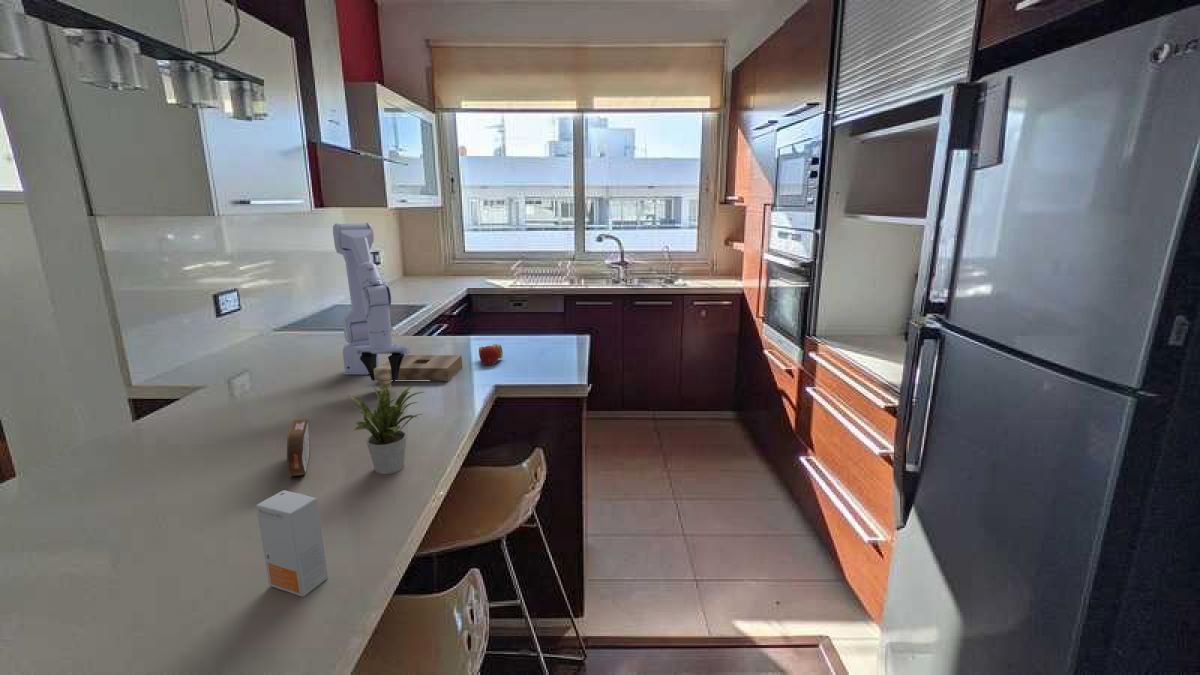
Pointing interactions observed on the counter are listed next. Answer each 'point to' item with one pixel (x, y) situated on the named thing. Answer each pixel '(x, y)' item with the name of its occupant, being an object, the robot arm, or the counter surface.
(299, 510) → the skincare box
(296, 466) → the tin
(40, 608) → the counter surface
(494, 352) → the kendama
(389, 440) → the house plant
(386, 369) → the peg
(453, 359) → the board
